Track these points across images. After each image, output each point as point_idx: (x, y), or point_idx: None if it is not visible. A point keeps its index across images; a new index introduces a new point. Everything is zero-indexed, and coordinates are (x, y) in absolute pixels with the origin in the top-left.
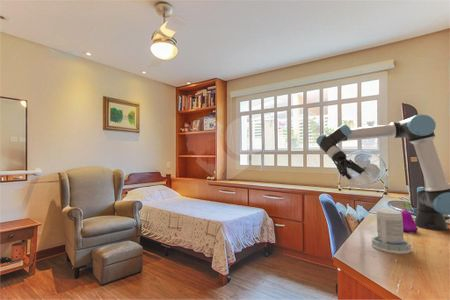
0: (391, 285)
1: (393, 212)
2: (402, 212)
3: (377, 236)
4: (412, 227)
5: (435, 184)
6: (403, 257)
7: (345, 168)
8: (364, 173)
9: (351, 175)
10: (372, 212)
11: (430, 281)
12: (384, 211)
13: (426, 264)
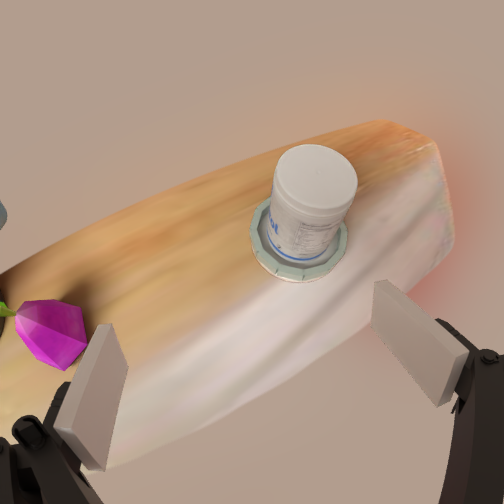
0: (428, 151)
1: (319, 157)
2: (36, 319)
3: (297, 272)
4: (63, 303)
5: None
6: None
7: (497, 418)
8: (81, 404)
9: (433, 324)
10: None
11: (369, 134)
12: (335, 179)
13: None
